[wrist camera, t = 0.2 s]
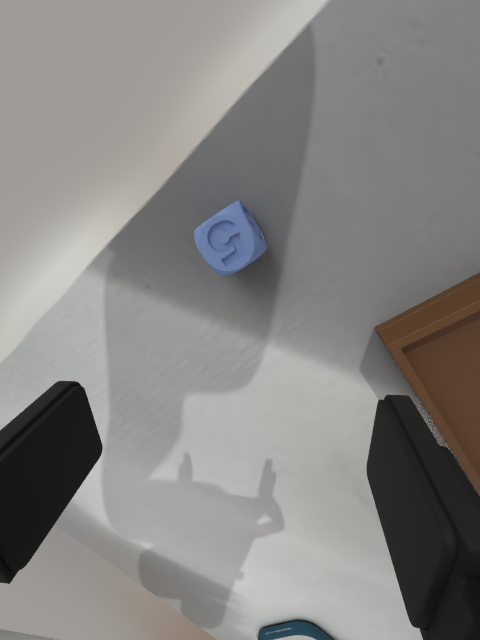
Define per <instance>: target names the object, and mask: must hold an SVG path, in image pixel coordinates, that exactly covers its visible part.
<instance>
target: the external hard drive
mask: <svg viewBox="0 0 480 640" xmlns="http://www.w3.org/2000/svg"><path fill="white" fill-rule="evenodd" d="M258 640H333V639H332V638H331V637H330V636H328V635H327V634H326V633H325V632H324V631H322V630H321V629H320V628H318V627H317V626H315V625H313V624H311V623H308V622H302V621H295V622H289V623H285V624H280V625H276V626H271V627H267V628H264V629H262V630H260V632H259V635H258Z"/></svg>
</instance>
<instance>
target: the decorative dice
mask: <svg viewBox="0 0 480 640" xmlns="http://www.w3.org/2000/svg"><path fill="white" fill-rule="evenodd" d="M194 239H195V243H196V245H197V248H198V250H199V252H200V253H201V255H202V257H203V258H204V260H205V261H206V263H207V264H208V265H209V266H210V267H211V269H212V270H214V271H215V272H216V273H217V274H219V275H223V276H229V275H231V274H233V273H235V272H237V271H239V270H241V269H242V268H244V267H245V266H247V265H249V264H250V263H251V262H253V261H254V260H256V259H257V258H258V257H260V256H261V255H262V254H263V253H264V252H265V251H266V250H267V243H266V240H265V238H264V236H263V234H262V232H261V230H260V228H259V226H258V224H257V223H256V221H255V219H254V218H253V216H252V215H251V213H250V212H249V210H248V209H247V207H246V206H245V205H244V204H243V203H242V202H241V201H236V202H234V203H232V204H231V205H229V206H227V207H226V208H224V209H223V210H221V211H220V212H218V213H217V214H215V215H214V216H213V217H211V218H210V219H208V220H207V221H206V222H204V223H203V224H201V225H200V226H199V227H198V228H196V229H195V232H194Z"/></svg>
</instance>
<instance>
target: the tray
mask: <svg viewBox="0 0 480 640" xmlns="http://www.w3.org/2000/svg"><path fill="white" fill-rule="evenodd" d="M375 330H376V331H377V333H378V335H379V336H380V338H381V339H382V341H383V343H384V344H385V346H386V347H387V349H388V351H389V352H390V354H391V355H392V357H393V359H394V360H395V362H396V363H397V365H398V366H399V368H400V370H401V371H402V373H403V374H404V376H405V378H406V379H407V381H408V382H409V384H410V386H411V387H412V389H413V390H414V392H415V394H416V395H417V397H418V398H419V400H420V401H421V403H422V405H423V406H424V408H425V409H426V411H427V413H428V414H429V416H430V417H431V419H432V421H433V422H434V424H435V425H436V427H437V429H438V430H439V432H440V433H441V435H442V436H443V438H444V440H445V441H446V443H447V444H448V446H449V448H450V449H451V451H452V452H453V454H454V456H455V457H456V459H457V460H458V462H459V464H460V465H461V467H462V468H463V470H464V471H465V473H466V475H467V476H468V478H469V479H470V481H471V483H472V484H473V486H474V487H475V489H476V491H477V492H478V494H479V495H480V273H479V274H477V275H475V276H473V277H471V278H469V279H467V280H465V281H463V282H461V283H459V284H457V285H456V286H454V287H452V288H450V289H448V290H446V291H444V292H442V293H440V294H438V295H436V296H434V297H432V298H431V299H429V300H427V301H425V302H423V303H421V304H419V305H417V306H415V307H413V308H411V309H409V310H407V311H406V312H404V313H402V314H400V315H398V316H396V317H394V318H392V319H390V320H388V321H386V322H384V323H382V324H381V325H379V326H377V327H375Z"/></svg>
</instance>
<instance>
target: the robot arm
mask: <svg viewBox="0 0 480 640" xmlns="http://www.w3.org/2000/svg"><path fill="white" fill-rule="evenodd" d="M101 453H102V443H101V440H100V436H99V433H98V430H97V427H96V424H95V421H94V417H93V414H92V411H91V408H90V405H89V401H88V398H87V395H86V392H85V389H84V388H83V387H82V386H81V385H80V384H79V383H78V382H75V381H58V382H57V383H55V384H54V385H53V386H52V387H50V388H49V389H48V390H47V391H46V392H45V393H43V394H42V395H41V396H40V397H39V398H38V399H36V400H35V401H34V402H33V403H32V404H31V405H29V406H28V407H27V408H26V409H25V410H24V411H23V412H21V413H20V414H19V415H18V416H17V417H16V418H14V419H13V420H12V421H11V422H10V423H9V424H7V425H6V426H5V427H4V428H3V429H2V430H0V582H1V583H8V584H10V582H11V581H12V580H13V578H14V577H15V575H16V574H17V572H18V571H19V570H20V569H22V568H24V567H25V566H26V565H27V563H28V562H29V561H30V559H31V558H32V556H33V555H34V553H35V552H36V550H37V549H38V547H39V546H40V544H41V543H42V542H43V540H44V539H45V537H46V536H47V534H48V533H49V531H50V530H51V528H52V527H53V525H54V524H55V522H56V521H57V520H58V518H59V517H60V515H61V514H62V512H63V511H64V509H65V508H66V506H67V505H68V503H69V502H70V500H71V499H72V497H73V496H74V494H75V493H76V492H77V490H78V489H79V487H80V486H81V484H82V483H83V481H84V480H85V478H86V477H87V475H88V474H89V472H90V471H91V469H92V468H93V467H94V465H95V464H96V462H97V461H98V459H99V458H100V456H101ZM367 476H368V480H369V484H370V487H371V491H372V494H373V498H374V501H375V504H376V508H377V511H378V515H379V518H380V522H381V525H382V528H383V532H384V535H385V539H386V542H387V545H388V549H389V552H390V556H391V559H392V563H393V566H394V569H395V573H396V576H397V580H398V583H399V586H400V590H401V593H402V597H403V600H404V604H405V607H406V610H407V614H408V617H409V620H410V622H411V624H412V625H413V627H416V628H420V631H421V634H422V637H423V640H480V497H479V495H478V493H477V492H476V490H475V489H474V487H473V486H472V484H471V482H470V481H469V479H468V478H467V476H466V475H465V473H464V471H463V470H462V468H461V467H460V465H459V464H458V462H457V460H456V459H455V457H454V456H453V454H452V453H451V452H450V451H449V449H447V448H446V447H444V446H439V444H438V443H437V441H436V439H435V438H434V436H433V434H432V433H431V431H430V429H429V428H428V426H427V424H426V423H425V421H424V419H423V418H422V416H421V415H420V413H419V411H418V410H417V408H416V406H415V405H414V403H413V401H412V400H411V398H410V397H409V396H403V395H386V396H385V398H384V400H379V401H378V404H377V410H376V415H375V421H374V427H373V433H372V438H371V444H370V450H369V455H368V461H367ZM0 640H59V639H53V638H47V637H42V636H35V635H30V634H24V633H18V632H12V631H6V630H0Z"/></svg>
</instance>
